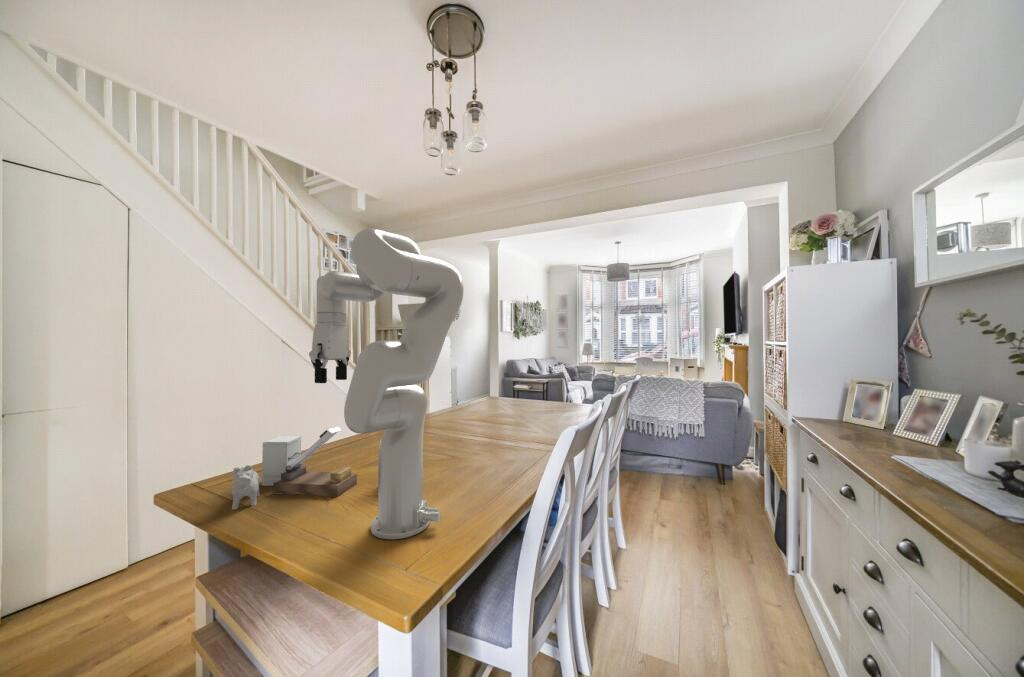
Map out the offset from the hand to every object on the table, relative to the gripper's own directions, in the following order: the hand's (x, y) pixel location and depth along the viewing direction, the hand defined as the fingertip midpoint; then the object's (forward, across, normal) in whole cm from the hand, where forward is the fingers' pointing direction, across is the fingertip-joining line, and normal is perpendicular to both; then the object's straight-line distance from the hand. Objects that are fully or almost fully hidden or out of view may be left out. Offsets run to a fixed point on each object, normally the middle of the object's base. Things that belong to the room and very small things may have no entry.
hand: (331, 381), depth 101 cm
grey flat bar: (+20, 0, -5) cm, 20 cm away
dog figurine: (+31, +11, -16) cm, 36 cm away
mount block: (+30, 0, -4) cm, 31 cm away
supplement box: (+31, -4, -18) cm, 36 cm away
